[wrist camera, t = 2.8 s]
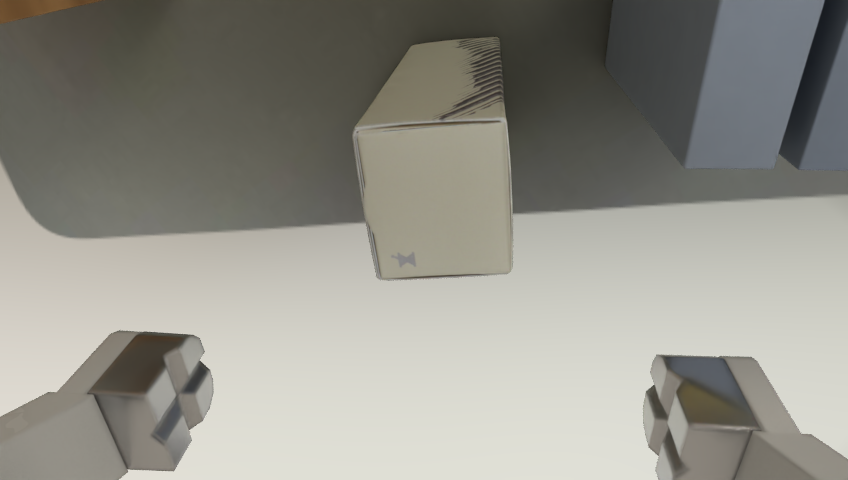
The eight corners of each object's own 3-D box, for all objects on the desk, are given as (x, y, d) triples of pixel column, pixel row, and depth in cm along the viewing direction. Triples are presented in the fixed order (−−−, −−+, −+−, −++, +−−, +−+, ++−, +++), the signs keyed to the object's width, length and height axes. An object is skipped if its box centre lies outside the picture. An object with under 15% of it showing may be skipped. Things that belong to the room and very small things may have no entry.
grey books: (604, 67, 26) (683, 170, 15) (623, -83, 23) (737, -80, 12) (797, 65, 25) (1016, 172, 15) (843, -91, 22) (1159, -94, 12)
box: (504, 139, 28) (517, 286, 17) (417, 145, 29) (375, 291, 18) (500, 27, 25) (512, 116, 14) (404, 37, 26) (345, 129, 15)
